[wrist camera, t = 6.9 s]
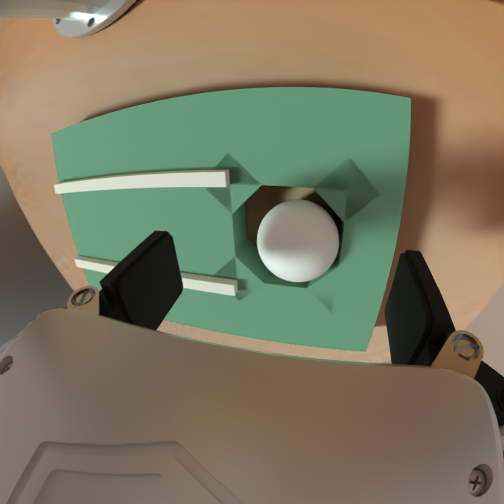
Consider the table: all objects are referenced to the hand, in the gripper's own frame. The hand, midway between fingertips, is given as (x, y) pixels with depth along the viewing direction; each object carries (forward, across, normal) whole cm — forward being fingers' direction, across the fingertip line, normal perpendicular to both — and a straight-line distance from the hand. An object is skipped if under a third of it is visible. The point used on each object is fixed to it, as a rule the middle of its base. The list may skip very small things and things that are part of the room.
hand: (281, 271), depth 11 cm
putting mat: (+7, +6, +1) cm, 9 cm away
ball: (+4, 0, +1) cm, 5 cm away
